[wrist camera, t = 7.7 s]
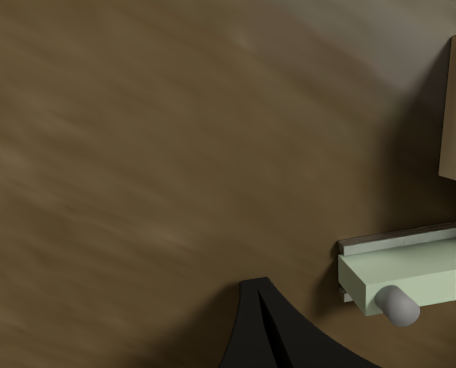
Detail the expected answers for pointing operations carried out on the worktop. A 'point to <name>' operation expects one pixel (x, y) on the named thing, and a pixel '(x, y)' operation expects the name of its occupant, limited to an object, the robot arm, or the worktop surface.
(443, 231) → the keeper guide
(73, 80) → the worktop surface
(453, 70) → the block
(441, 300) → the keeper bolt
